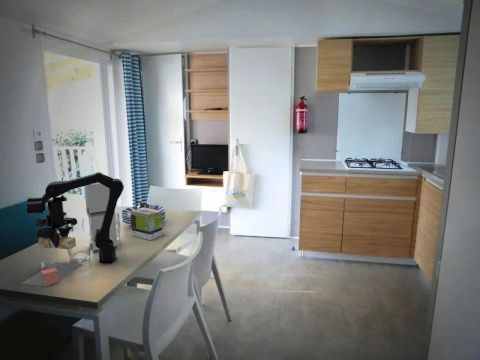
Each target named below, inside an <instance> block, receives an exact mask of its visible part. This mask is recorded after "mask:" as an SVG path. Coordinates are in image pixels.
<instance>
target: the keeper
mask: <svg viewBox="0 0 480 360" xmlns="http://www.w3.org/2000/svg"><path fill="white" fill-rule="evenodd" d="M41 273H42V274H43V279H44V287H50V286H49V285H52V284H55V285H56V284H59V283H60V281H58V272H57V270H56V268H55V267H54V268H51V269H47V270H43V271H42V270H41Z"/></svg>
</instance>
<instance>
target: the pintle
mask: <svg viewBox="0 0 480 360" xmlns="http://www.w3.org/2000/svg"><path fill="white" fill-rule="evenodd" d="M40 264H41V271H43V270H46V268H47V266H46V265H47V264H46V261H41V262H40Z"/></svg>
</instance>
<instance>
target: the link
mask: <svg viewBox="0 0 480 360" xmlns="http://www.w3.org/2000/svg"><path fill="white" fill-rule="evenodd" d="M37 241H38V246H39V249H41V248H42V249H56V248H55V247H54V245H53V243H52V241H51V240H50V238H42V237H38V239H37ZM75 247H77V241H76V237H73V236H69V237H63V236H60V237H59V244H58V248H57V250H58V249H59V250H60V249H61V250H72V249H74V248H75Z"/></svg>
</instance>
